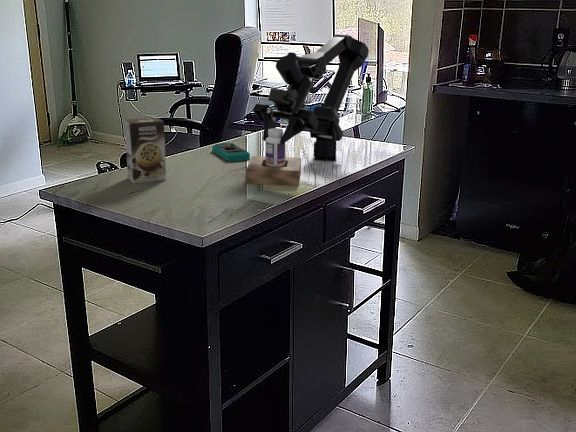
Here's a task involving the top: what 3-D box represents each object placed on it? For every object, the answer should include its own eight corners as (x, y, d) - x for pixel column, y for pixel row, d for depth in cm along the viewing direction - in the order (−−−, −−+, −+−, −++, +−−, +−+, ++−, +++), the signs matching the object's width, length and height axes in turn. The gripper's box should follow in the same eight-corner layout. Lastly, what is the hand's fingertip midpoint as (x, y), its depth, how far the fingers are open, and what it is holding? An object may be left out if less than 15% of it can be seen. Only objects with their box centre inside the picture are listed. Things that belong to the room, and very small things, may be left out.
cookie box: (133, 184, 167) (129, 123, 162) (127, 178, 173) (123, 118, 167) (167, 180, 171) (164, 120, 166) (160, 174, 177) (157, 116, 171)
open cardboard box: (300, 171, 182) (301, 157, 181) (298, 185, 169) (299, 170, 168) (252, 169, 183) (252, 156, 182) (246, 183, 170) (246, 169, 169)
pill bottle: (284, 161, 178) (284, 127, 175) (285, 167, 173) (286, 131, 169) (264, 162, 177) (265, 127, 174) (265, 167, 172) (265, 131, 169)
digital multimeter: (232, 150, 206) (232, 141, 205) (250, 161, 194) (250, 151, 193) (211, 152, 203) (211, 143, 202) (228, 163, 191) (227, 154, 190)
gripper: (256, 73, 175) (231, 120, 170) (314, 79, 165) (289, 129, 161) (273, 98, 184) (250, 143, 179) (328, 105, 174) (305, 153, 169)
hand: (272, 141), depth 172 cm, fingers closed on pill bottle, 5 cm apart
